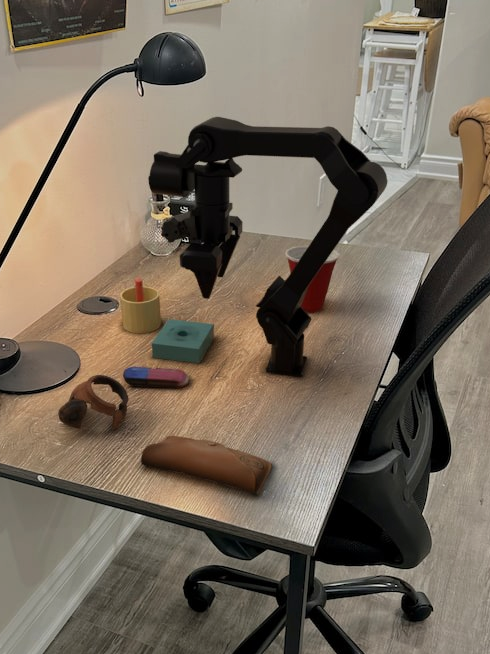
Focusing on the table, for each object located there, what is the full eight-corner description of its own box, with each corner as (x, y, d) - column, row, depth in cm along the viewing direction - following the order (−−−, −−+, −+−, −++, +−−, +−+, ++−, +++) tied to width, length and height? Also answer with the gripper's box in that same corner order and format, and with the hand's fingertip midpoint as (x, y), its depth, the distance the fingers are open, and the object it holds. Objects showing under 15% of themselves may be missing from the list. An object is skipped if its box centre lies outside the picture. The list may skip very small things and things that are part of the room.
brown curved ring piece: (86, 399, 122) (106, 364, 118) (123, 437, 120) (145, 403, 116) (35, 418, 112) (55, 380, 108) (74, 460, 110) (96, 423, 106)
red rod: (143, 323, 143) (140, 282, 138) (137, 323, 143) (133, 281, 138) (146, 320, 144) (143, 279, 139) (139, 320, 144) (136, 278, 139)
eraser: (189, 377, 127) (189, 368, 126) (187, 389, 123) (187, 380, 123) (126, 373, 128) (125, 364, 127) (122, 385, 124) (121, 376, 123)
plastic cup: (334, 295, 154) (338, 242, 147) (336, 318, 145) (341, 262, 138) (283, 294, 155) (285, 240, 148) (282, 317, 146) (284, 261, 139)
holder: (199, 363, 131) (198, 349, 129) (152, 357, 133) (151, 343, 131) (214, 337, 139) (213, 323, 137) (169, 332, 141) (169, 318, 139)
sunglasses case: (275, 460, 106) (269, 442, 100) (261, 504, 103) (254, 488, 97) (164, 434, 112) (152, 416, 106) (149, 476, 109) (135, 459, 103)
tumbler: (153, 335, 140) (151, 304, 136) (117, 330, 142) (114, 300, 138) (166, 317, 146) (164, 288, 142) (131, 313, 148) (128, 284, 144)
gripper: (182, 180, 128) (185, 262, 137) (146, 214, 113) (152, 305, 122) (243, 184, 125) (242, 268, 134) (215, 220, 110) (216, 312, 119)
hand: (213, 287), depth 127 cm, fingers open, 9 cm apart
